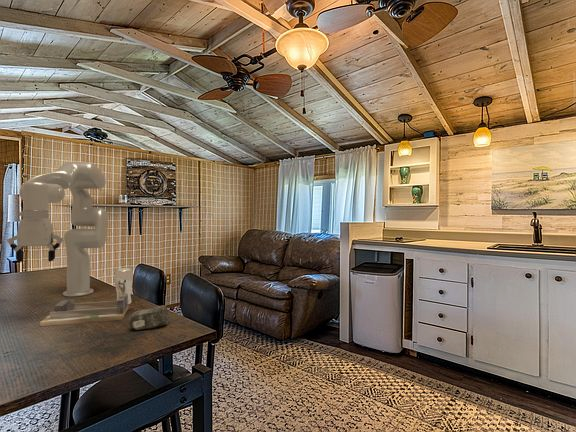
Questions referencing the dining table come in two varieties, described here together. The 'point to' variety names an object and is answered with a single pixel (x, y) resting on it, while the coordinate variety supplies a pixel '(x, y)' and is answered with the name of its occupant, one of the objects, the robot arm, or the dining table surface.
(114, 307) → the gauge board
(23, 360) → the dining table surface
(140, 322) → the stone
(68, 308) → the slider
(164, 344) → the dining table surface
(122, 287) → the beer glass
